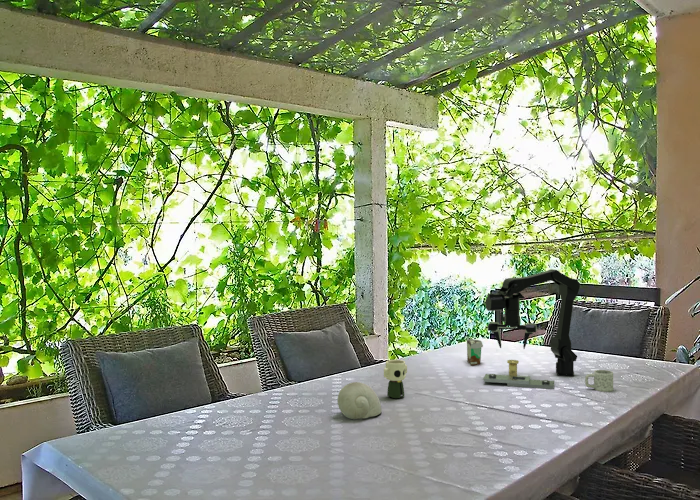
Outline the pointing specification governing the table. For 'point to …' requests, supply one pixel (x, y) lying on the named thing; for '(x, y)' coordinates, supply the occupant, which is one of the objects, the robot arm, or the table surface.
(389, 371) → the character mug
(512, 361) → the brass pin
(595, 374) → the mug
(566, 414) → the table surface
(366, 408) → the seashell
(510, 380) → the plate with square hole
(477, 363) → the food container
